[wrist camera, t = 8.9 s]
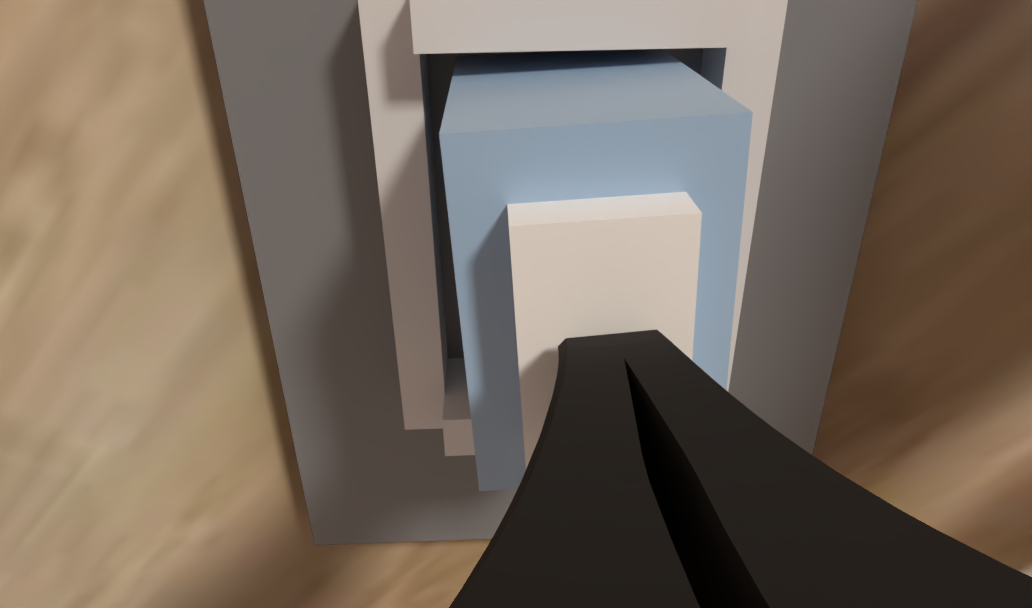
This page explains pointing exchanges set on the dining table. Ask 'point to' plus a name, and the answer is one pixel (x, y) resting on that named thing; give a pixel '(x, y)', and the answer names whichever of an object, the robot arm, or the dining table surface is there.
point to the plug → (585, 222)
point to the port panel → (426, 233)
